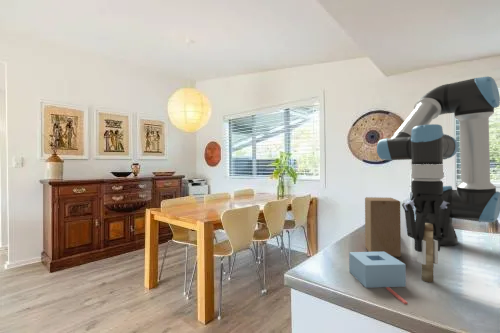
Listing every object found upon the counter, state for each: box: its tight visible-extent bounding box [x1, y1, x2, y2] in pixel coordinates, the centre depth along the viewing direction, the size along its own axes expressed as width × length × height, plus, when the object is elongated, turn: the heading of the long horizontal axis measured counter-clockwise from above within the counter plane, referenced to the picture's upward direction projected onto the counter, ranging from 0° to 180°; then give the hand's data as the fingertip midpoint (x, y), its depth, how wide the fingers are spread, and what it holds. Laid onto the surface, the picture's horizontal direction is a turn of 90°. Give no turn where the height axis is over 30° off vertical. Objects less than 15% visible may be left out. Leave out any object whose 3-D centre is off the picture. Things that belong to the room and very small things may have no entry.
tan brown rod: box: [421, 223, 434, 283], centre depth 78 cm, size 3×3×16 cm
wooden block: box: [364, 196, 402, 258], centre depth 103 cm, size 10×10×20 cm
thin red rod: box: [385, 287, 408, 305], centre depth 69 cm, size 1×8×1 cm, turn 2°
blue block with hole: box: [348, 251, 407, 289], centre depth 79 cm, size 11×11×6 cm
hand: (427, 262), depth 78 cm, fingers closed on tan brown rod, 3 cm apart
